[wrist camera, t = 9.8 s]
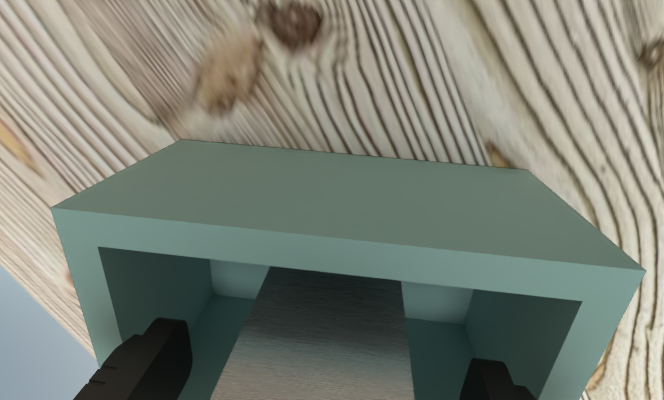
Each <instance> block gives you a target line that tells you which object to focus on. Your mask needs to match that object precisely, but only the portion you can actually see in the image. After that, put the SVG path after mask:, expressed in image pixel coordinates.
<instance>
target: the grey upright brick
mask: <svg viewBox="0 0 664 400" xmlns="http://www.w3.org/2000/svg"><path fill="white" fill-rule="evenodd" d="M210 400H415V399H414V391H413V382H412V373H411V364H410V355H409V346H408V338H407V329H406V320H405V311H404V302H403V293H402V285H401V281H399V280H390V279H382V278H373V277H364V276H355V275H346V274H337V273H329V272H320V271H311V270H302V269H293V268H284V267H276V266H270V268H269V270H268V273H267V275H266V277H265V279H264V281H263V284H262V286H261V288H260V290H259V292H258V295H257V297H256V299H255V301H254V303H253V306H252V308H251V310H250V312H249V314H248V317H247V319H246V321H245V323H244V325H243V328H242V330H241V332H240V334H239V336H238V339H237V341H236V343H235V345H234V347H233V350H232V352H231V354H230V356H229V358H228V361H227V363H226V365H225V367H224V369H223V372H222V374H221V376H220V378H219V380H218V383H217V385H216V387H215V389H214V391H213V394H212V396H211V398H210Z"/></svg>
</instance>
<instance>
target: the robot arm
mask: <svg viewBox="0 0 664 400" xmlns="http://www.w3.org/2000/svg"><path fill="white" fill-rule="evenodd" d="M192 364H193V355H192V349H191V343H190V336H189V330H188V324H187V322H186V321H185V320H179V319H171V318H163V317H158V318H156V319H155V320H154V321H153V322H152V323H151V325H150V326H149V327H148V329H147V330H146V331H145V332H144V334H143V335H138V334H134V335H133V336H131V337H130V338H129V339H127V340H126V341H125V342H123V343H122V344H120V345H119V346H118V347H116V348H115V349H114V350H113V352H112V353H111V354H110V355H109V357H108V358H107V359H106V360H105V361H104V363H103V364H102V365H101V368H100V369H98V370H97V371H96V372H95V374H94V375H93V376H92V377H91V379H90V380H89V383H88V384H86V385H85V386H84V387H83V388H82V389H81V391H80V392H79V393H78V394H77V395H76V397H75V398H74V399H73V400H177V399H178V397H179V395H180V393H181V392H182V390H183V388H184V386H185V384H186V382H187V380H188V378H189V376H190V373H191V369H192ZM459 400H537V399H536V398H535V397H534V396H533V395H532V393H531V392H530V391H529V390H528V389H527V387H526V386H520V385H514V383H513V381H512V378H511V376H510V373H509V371H508V368H507V366H506V365H505V363H504V362H502V361H496V360H488V359H480V358H472V360H471V362H470V365H469V368H468V371H467V374H466V377H465V380H464V383H463V387H462V390H461V393H460V398H459Z"/></svg>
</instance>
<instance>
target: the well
mask: <svg viewBox="0 0 664 400" xmlns="http://www.w3.org/2000/svg"><path fill="white" fill-rule="evenodd" d="M51 211H52V215H53V218H54V221H55V224H56V228H57V231H58V234H59V237H60V241H61V244H62V247H63V250H64V254H65V257H66V260H67V263H68V267H69V270H70V273H71V276H72V280H73V283H74V286H75V289H76V293H77V296H78V299H79V302H80V306H81V309H82V312H83V316H84V319H85V322H86V325H87V329H88V332H89V335H90V338H91V342H92V345H93V348H94V351H95V355H96V358H97V361H98V364H99V368H101V365H102V364H103V363H104V361H105V360H106V359H107V358H108V357H109V355H110V354H111V353H112V352H113V350H114V349H115V348H116V347H118V346H119V345H120V344H122V343H123V342H125V341H126V340H127V339H129V338H130V337H131V336H133V335H134V334H138V335H143V334H144V332H145V331H146V330H147V329H148V327H149V326H150V325H151V323H152V322H153V321H154V320H155V319H156V318H158V317H163V318H171V319H179V320H185V321H186V322H187V324H188V330H189V336H190V343H191V349H192V355H193V364H192V369H191V373H190V376H189V378H188V380H187V382H186V384H185V386H184V388H183V390H182V392H181V393H180V395H179V397H178V399H177V400H210V398H211V396H212V394H213V391H214V389H215V387H216V385H217V383H218V380H219V378H220V376H221V374H222V372H223V369H224V367H225V365H226V363H227V361H228V358H229V356H230V354H231V352H232V350H233V347H234V345H235V343H236V341H237V339H238V336H239V334H240V332H241V330H242V328H243V325H244V323H245V321H246V319H247V317H248V314H249V312H250V310H251V308H252V306H253V303H254V301H255V299H256V297H257V295H258V292H259V290H260V288H261V286H262V284H263V281H264V279H265V277H266V275H267V273H268V270H269V268H270V266H276V267H284V268H293V269H302V270H311V271H320V272H329V273H337V274H346V275H355V276H364V277H373V278H382V279H390V280H399V281H401V285H402V293H403V302H404V311H405V320H406V329H407V338H408V346H409V355H410V364H411V373H412V382H413V391H414V399H415V400H459V398H460V393H461V390H462V387H463V383H464V380H465V377H466V374H467V371H468V368H469V365H470V362H471V360H472V358H480V359H488V360H496V361H502V362H504V363H505V365H506V366H507V368H508V371H509V373H510V376H511V378H512V381H513V383H514V385H520V386H526V387H527V389H528V390H529V391H530V392H531V393H532V395H533V396H534V397H535V398H536V399H537V400H579V399H580V397H581V395H582V393H583V391H584V389H585V387H586V385H587V383H588V381H589V379H590V378H591V376H592V374H593V372H594V370H595V368H596V366H597V364H598V362H599V360H600V358H601V357H602V355H603V353H604V351H605V349H606V347H607V345H608V343H609V341H610V339H611V337H612V336H613V334H614V332H615V330H616V328H617V326H618V324H619V322H620V320H621V318H622V316H623V315H624V313H625V311H626V309H627V307H628V305H629V303H630V301H631V299H632V297H633V295H634V294H635V292H636V290H637V288H638V286H639V284H640V282H641V280H642V278H643V276H644V275H645V273H646V270H645V269H644V268H642V267H641V266H640V265H639V264H638V263H637V262H635V261H634V260H633V259H632V258H631V257H630V256H628V255H627V254H626V253H625V252H624V251H622V250H621V249H620V248H619V247H618V246H617V245H615V244H614V243H613V242H612V241H611V240H610V239H608V238H607V237H606V236H605V235H604V234H602V233H601V232H600V231H599V230H598V229H597V228H595V227H594V226H593V225H592V224H591V223H590V222H588V221H587V220H586V219H585V218H584V217H582V216H581V215H580V214H579V213H578V212H577V211H575V210H574V209H573V208H572V207H571V206H570V205H568V204H567V203H566V202H565V201H564V200H562V199H561V198H560V197H559V196H558V195H557V194H555V193H554V192H553V191H552V190H551V189H550V188H548V187H547V186H546V185H545V184H544V183H542V182H541V181H540V180H539V179H538V178H537V177H535V176H534V175H533V174H532V173H531V172H530V171H528V170H521V169H510V168H499V167H487V166H476V165H465V164H453V163H442V162H431V161H420V160H408V159H397V158H386V157H374V156H363V155H352V154H340V153H329V152H318V151H306V150H295V149H284V148H272V147H261V146H250V145H238V144H227V143H216V142H204V141H193V140H182V139H181V140H179V141H177V142H175V143H174V144H172V145H170V146H168V147H166V148H164V149H162V150H160V151H158V152H156V153H154V154H152V155H151V156H149V157H147V158H145V159H143V160H141V161H139V162H137V163H135V164H133V165H131V166H129V167H128V168H126V169H124V170H122V171H120V172H118V173H116V174H114V175H112V176H110V177H108V178H106V179H105V180H103V181H101V182H99V183H97V184H95V185H93V186H91V187H89V188H87V189H85V190H83V191H82V192H80V193H78V194H76V195H74V196H72V197H70V198H68V199H66V200H64V201H62V202H60V203H59V204H57V205H55V206H53V207H51Z"/></svg>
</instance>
